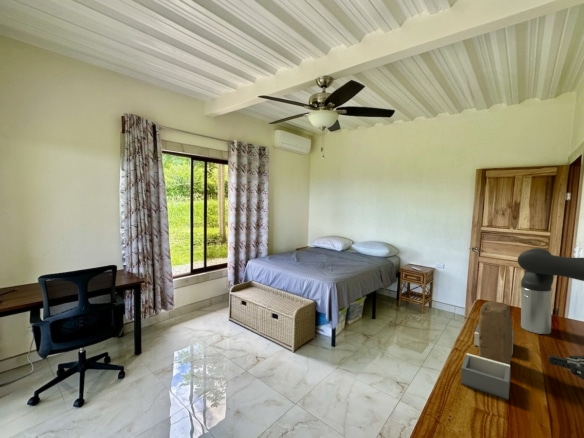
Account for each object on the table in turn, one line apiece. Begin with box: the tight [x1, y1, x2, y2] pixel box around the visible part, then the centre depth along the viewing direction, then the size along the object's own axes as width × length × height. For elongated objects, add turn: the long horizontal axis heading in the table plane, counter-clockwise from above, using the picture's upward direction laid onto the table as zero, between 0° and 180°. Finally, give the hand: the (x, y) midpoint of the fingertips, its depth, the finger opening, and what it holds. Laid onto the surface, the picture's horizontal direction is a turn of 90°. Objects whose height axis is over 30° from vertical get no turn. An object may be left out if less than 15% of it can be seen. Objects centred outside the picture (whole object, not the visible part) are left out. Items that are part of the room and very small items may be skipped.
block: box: [478, 300, 513, 366], centre depth 91 cm, size 11×8×20 cm
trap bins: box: [460, 323, 514, 401], centre depth 92 cm, size 37×11×5 cm, turn 140°
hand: (549, 359), depth 82 cm, fingers closed
